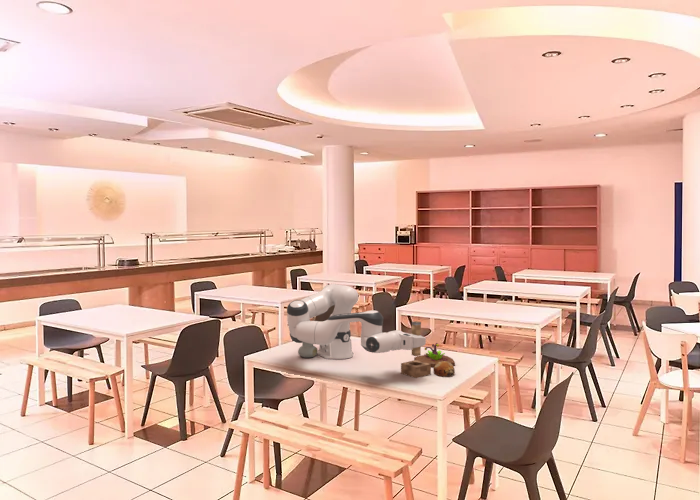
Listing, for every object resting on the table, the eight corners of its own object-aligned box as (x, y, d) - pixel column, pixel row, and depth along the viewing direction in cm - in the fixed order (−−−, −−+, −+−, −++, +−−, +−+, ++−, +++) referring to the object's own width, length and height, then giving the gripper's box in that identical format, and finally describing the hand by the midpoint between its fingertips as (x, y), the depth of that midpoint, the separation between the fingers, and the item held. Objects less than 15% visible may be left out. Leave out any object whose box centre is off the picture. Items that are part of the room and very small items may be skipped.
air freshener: (310, 359, 274) (310, 341, 274) (296, 358, 277) (296, 339, 276) (318, 355, 284) (318, 336, 284) (304, 353, 287) (304, 335, 287)
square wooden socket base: (401, 373, 248) (401, 363, 248) (415, 370, 255) (415, 360, 255) (416, 378, 241) (416, 367, 241) (430, 374, 247) (430, 364, 247)
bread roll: (452, 379, 252) (451, 363, 255) (457, 376, 242) (456, 359, 245) (432, 379, 251) (431, 363, 254) (436, 376, 242) (435, 359, 245)
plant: (424, 369, 257) (424, 347, 256) (409, 360, 276) (410, 339, 275) (461, 367, 262) (461, 345, 262) (444, 357, 281) (444, 337, 280)
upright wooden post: (411, 355, 248) (411, 321, 247) (415, 354, 250) (416, 321, 249) (416, 356, 245) (416, 322, 245) (420, 355, 247) (421, 322, 247)
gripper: (381, 342, 247) (401, 339, 256) (412, 350, 231) (433, 346, 240) (381, 329, 247) (402, 326, 255) (413, 336, 231) (433, 332, 240)
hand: (417, 336), depth 248 cm, fingers closed on upright wooden post, 3 cm apart
